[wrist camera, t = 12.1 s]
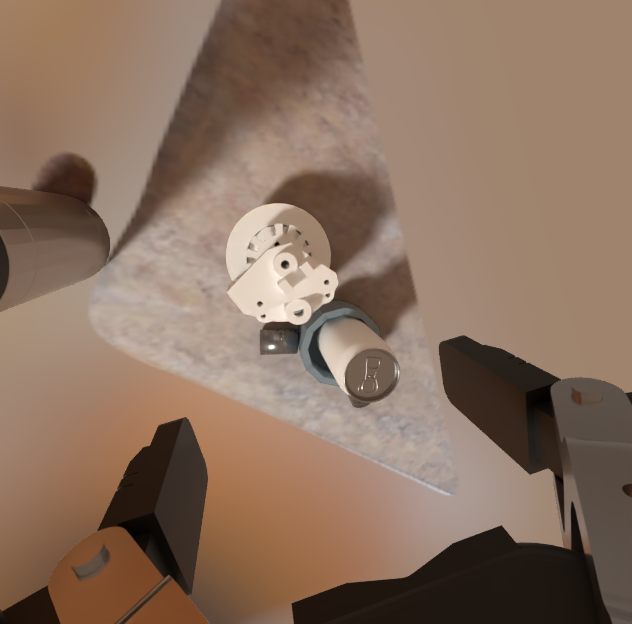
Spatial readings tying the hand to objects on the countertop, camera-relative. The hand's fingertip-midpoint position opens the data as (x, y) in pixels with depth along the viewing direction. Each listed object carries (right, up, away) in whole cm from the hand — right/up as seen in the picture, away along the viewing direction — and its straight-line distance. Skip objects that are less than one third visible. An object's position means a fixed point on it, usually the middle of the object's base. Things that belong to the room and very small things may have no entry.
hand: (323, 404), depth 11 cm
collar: (+2, 0, +35) cm, 35 cm away
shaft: (-5, 0, +34) cm, 34 cm away
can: (+3, 0, +35) cm, 35 cm away
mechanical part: (-5, +9, +32) cm, 33 cm away
